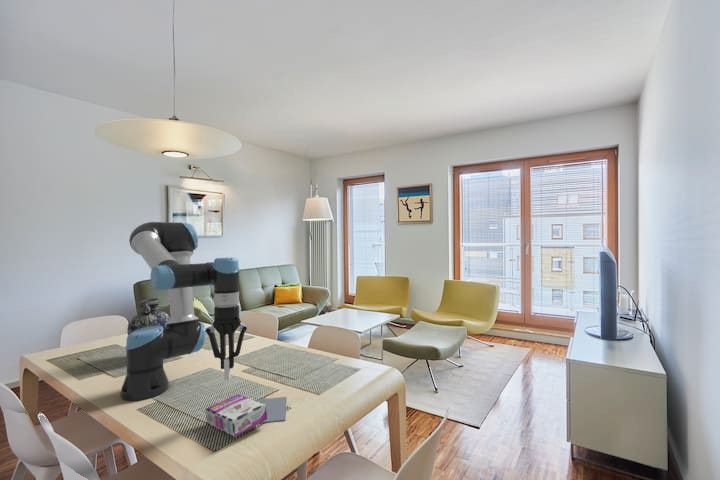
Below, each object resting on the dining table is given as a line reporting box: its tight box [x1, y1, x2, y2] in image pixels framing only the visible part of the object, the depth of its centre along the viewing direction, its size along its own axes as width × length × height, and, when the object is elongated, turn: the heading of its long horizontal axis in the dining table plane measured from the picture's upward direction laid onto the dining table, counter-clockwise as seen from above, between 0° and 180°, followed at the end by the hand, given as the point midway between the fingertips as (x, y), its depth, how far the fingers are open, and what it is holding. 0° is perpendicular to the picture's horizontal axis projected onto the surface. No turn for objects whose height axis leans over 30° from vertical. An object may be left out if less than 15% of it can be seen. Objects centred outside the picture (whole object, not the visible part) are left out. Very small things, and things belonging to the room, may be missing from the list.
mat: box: [254, 396, 287, 424], centre depth 113 cm, size 18×16×1 cm
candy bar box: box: [205, 394, 267, 438], centre depth 104 cm, size 11×5×16 cm
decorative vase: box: [126, 297, 171, 336], centre depth 167 cm, size 21×19×28 cm
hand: (227, 378), depth 111 cm, fingers closed
